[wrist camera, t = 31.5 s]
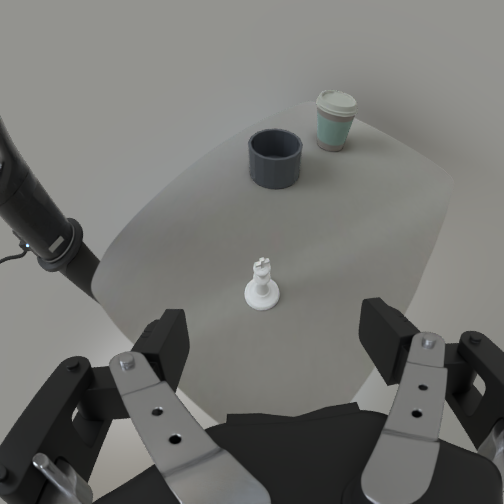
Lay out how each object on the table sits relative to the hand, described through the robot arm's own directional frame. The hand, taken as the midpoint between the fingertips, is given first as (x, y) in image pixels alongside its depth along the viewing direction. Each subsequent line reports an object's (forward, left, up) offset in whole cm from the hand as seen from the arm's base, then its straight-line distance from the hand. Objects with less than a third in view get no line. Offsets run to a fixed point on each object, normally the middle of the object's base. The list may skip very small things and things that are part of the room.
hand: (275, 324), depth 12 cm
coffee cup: (+21, +44, -25) cm, 54 cm away
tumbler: (+7, +36, -25) cm, 44 cm away
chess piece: (+1, +11, -25) cm, 27 cm away
